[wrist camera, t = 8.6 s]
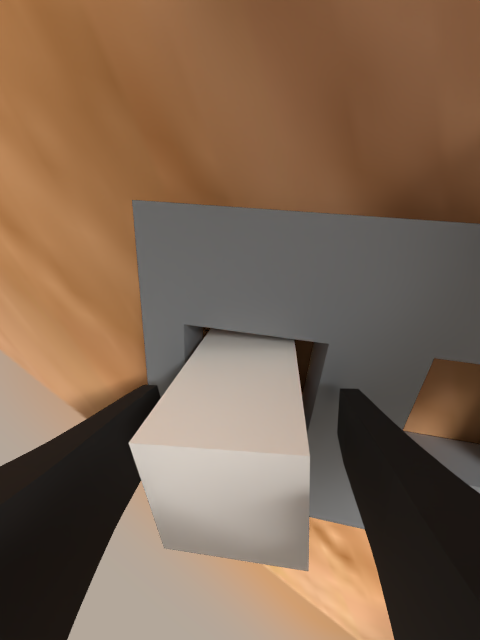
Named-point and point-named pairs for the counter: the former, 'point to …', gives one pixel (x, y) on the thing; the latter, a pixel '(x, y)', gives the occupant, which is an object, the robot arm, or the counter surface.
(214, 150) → the counter surface
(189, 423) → the plug
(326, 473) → the socket board
